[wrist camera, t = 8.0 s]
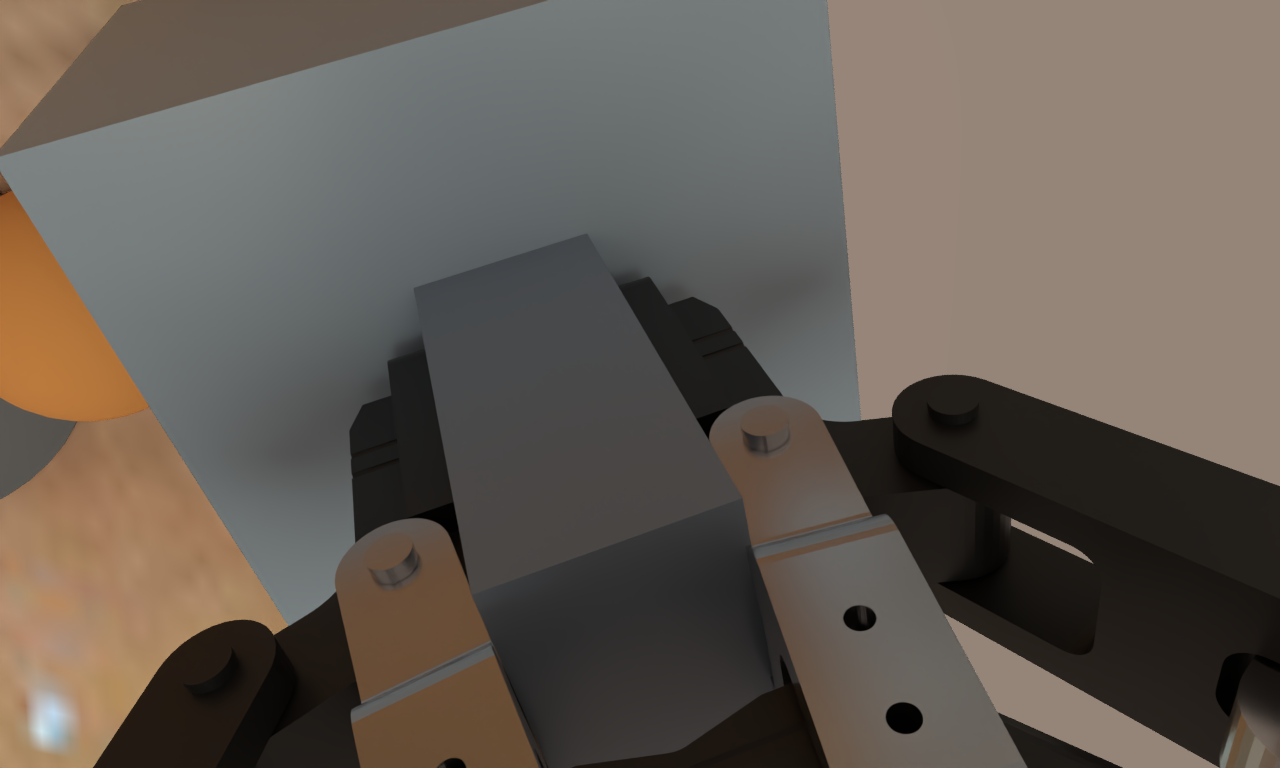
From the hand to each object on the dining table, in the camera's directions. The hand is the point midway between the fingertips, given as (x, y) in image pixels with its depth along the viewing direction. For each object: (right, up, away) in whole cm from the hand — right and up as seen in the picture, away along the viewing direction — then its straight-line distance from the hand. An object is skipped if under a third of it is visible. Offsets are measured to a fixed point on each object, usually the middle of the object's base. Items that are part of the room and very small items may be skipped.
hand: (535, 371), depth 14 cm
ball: (-10, +2, +6) cm, 12 cm away
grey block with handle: (-2, +4, +7) cm, 9 cm away
